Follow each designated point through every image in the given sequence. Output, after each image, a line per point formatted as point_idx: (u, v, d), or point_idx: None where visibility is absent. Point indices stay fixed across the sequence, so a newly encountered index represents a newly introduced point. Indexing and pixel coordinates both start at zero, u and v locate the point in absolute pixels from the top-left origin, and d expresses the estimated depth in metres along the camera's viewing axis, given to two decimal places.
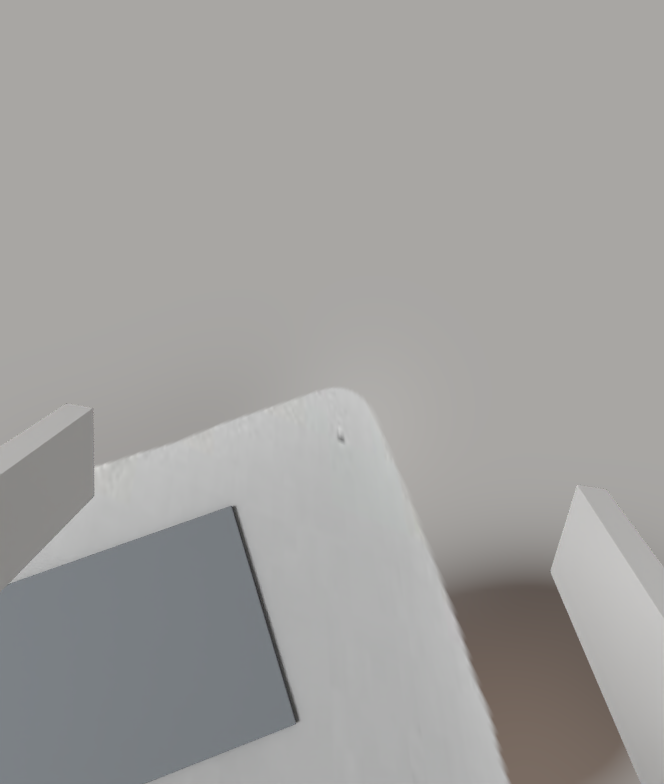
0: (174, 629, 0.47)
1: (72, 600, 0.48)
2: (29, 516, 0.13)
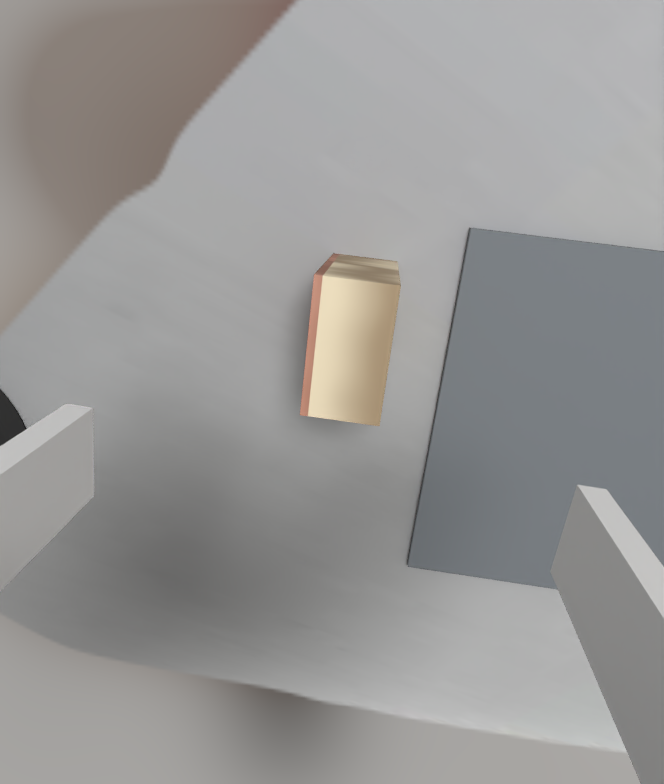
0: (569, 499, 0.39)
1: None
2: (29, 516, 0.13)
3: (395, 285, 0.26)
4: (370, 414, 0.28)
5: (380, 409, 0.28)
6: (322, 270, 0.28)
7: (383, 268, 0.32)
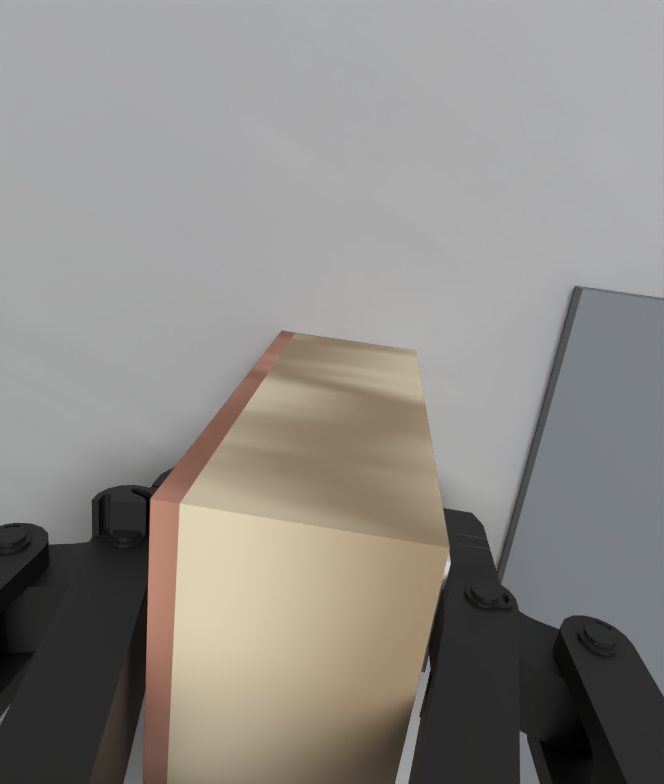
0: None
1: None
2: None
3: (432, 543, 0.08)
4: None
5: None
6: (204, 447, 0.09)
7: (387, 396, 0.13)
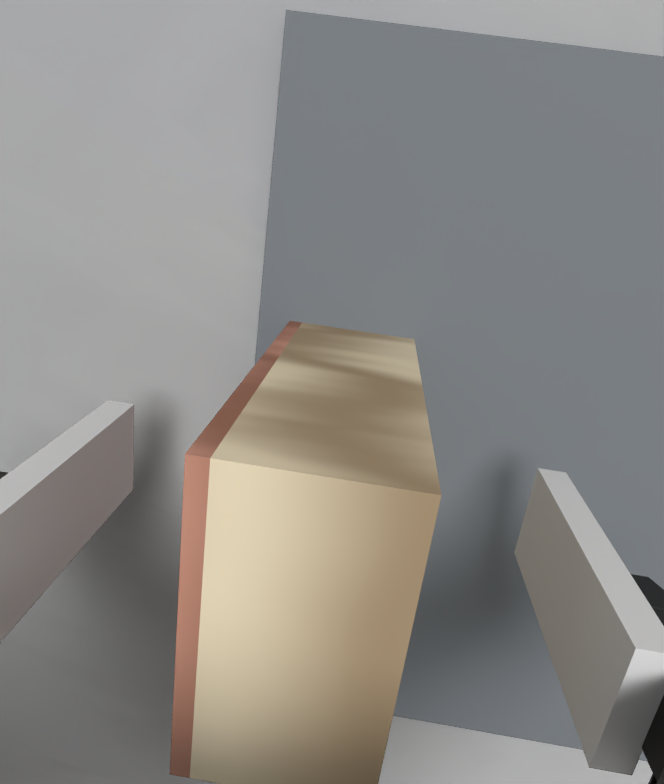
0: (509, 580, 0.21)
1: None
2: (80, 508, 0.14)
3: (426, 491, 0.09)
4: None
5: (375, 779, 0.11)
6: (227, 415, 0.11)
7: (387, 377, 0.14)
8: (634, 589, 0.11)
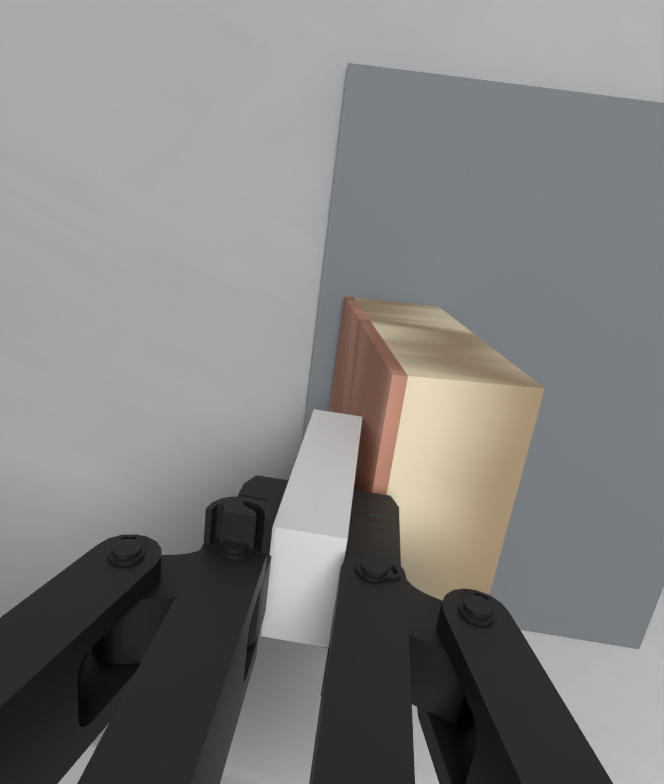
0: None
1: None
2: None
3: (535, 387, 0.15)
4: None
5: (489, 585, 0.17)
6: (387, 355, 0.16)
7: (450, 330, 0.20)
8: (347, 496, 0.13)
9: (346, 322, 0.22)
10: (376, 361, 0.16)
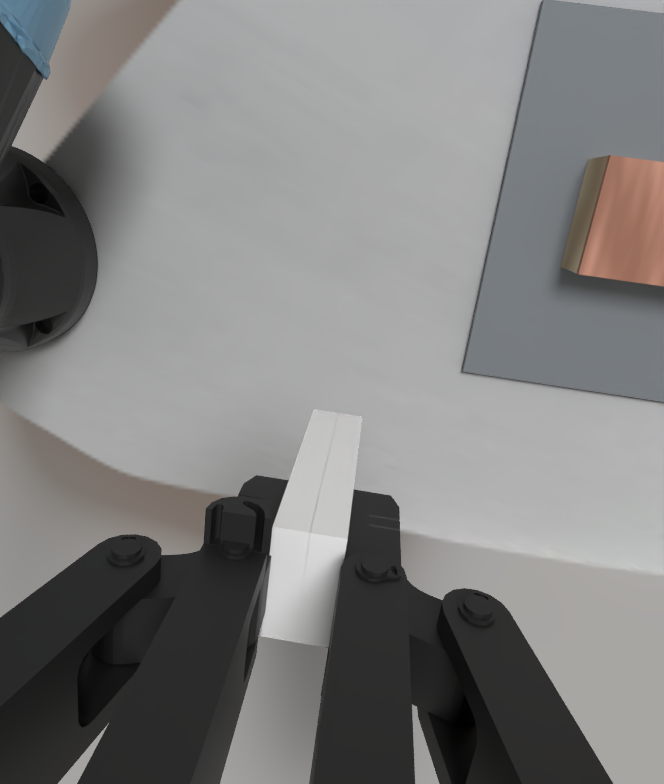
0: (625, 294, 0.40)
1: None
2: None
3: None
4: None
5: None
6: None
7: None
8: (347, 496, 0.13)
9: (632, 171, 0.34)
10: None
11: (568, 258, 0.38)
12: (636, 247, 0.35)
